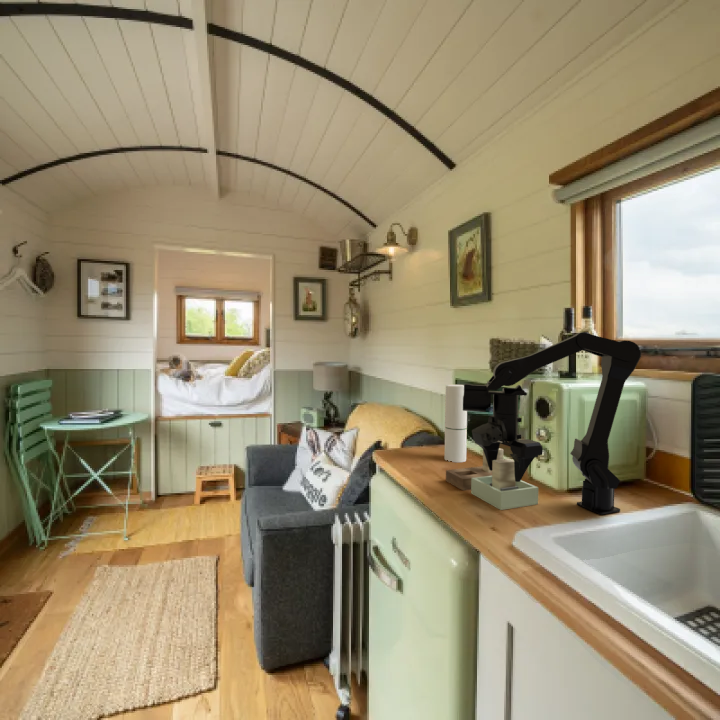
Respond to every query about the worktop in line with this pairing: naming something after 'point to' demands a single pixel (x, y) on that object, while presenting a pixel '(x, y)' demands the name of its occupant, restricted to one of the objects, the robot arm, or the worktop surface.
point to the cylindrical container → (455, 424)
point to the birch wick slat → (503, 474)
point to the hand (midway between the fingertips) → (504, 475)
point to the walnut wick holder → (465, 476)
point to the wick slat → (485, 464)
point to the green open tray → (504, 493)
